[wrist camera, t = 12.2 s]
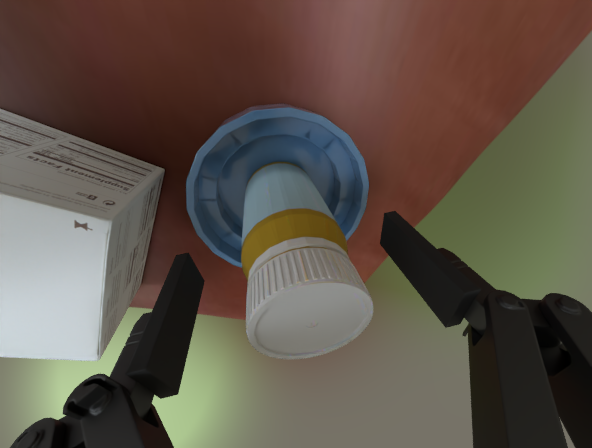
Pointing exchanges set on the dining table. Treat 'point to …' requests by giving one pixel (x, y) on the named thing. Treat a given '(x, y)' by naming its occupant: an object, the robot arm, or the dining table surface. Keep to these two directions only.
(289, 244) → the bottle
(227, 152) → the bowl
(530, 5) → the dining table surface
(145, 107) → the dining table surface
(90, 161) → the supplement box
